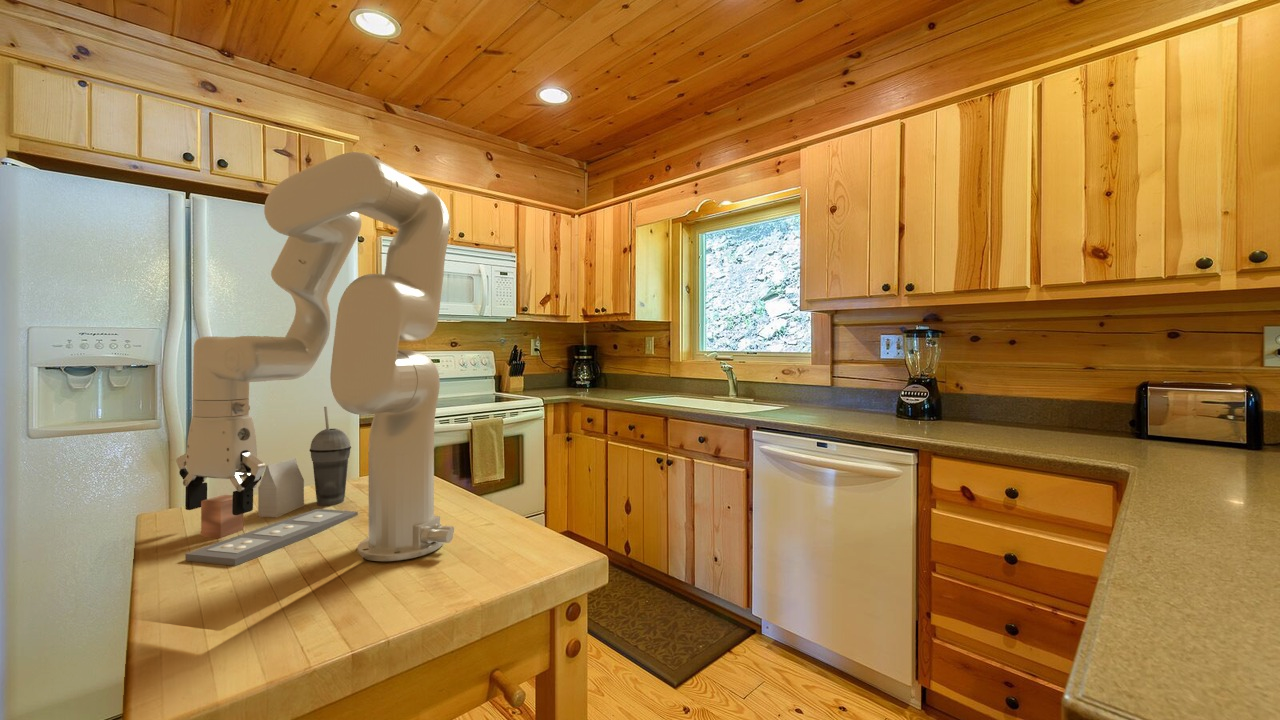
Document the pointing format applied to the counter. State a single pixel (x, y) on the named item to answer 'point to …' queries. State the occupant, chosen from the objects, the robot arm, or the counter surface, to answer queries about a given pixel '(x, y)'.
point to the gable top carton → (280, 489)
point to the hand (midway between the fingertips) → (219, 510)
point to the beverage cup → (330, 464)
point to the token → (219, 517)
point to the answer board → (269, 537)
